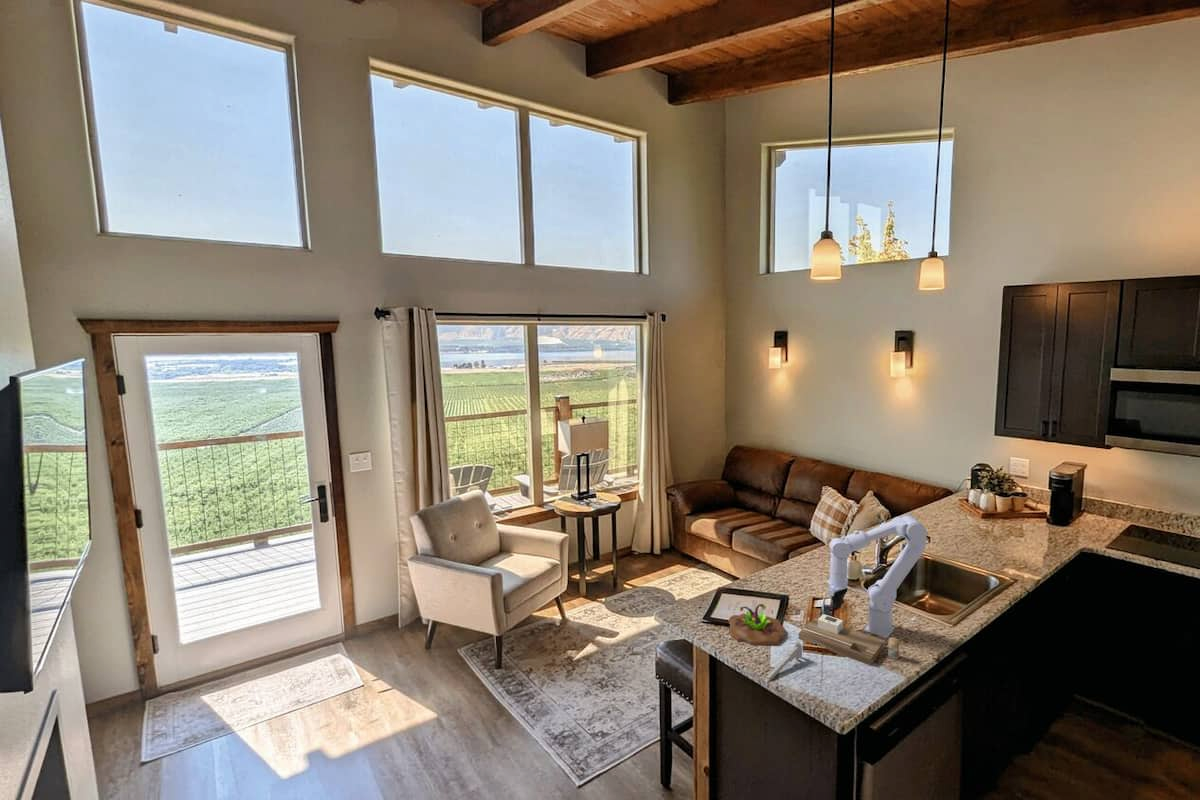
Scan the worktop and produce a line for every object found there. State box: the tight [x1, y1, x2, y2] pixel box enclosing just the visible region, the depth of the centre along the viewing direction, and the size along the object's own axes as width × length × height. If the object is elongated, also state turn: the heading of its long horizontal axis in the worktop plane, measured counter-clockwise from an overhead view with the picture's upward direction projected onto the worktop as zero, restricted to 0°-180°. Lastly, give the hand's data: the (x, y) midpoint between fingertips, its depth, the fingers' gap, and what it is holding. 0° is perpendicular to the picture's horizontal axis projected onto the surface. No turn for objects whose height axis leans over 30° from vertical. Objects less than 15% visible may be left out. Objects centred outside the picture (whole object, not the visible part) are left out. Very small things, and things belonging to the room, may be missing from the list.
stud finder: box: [817, 613, 844, 634], centre depth 202 cm, size 5×7×3 cm
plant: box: [728, 603, 786, 646], centre depth 205 cm, size 20×20×11 cm
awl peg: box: [887, 637, 900, 661], centre depth 188 cm, size 3×3×6 cm
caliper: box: [763, 640, 803, 683], centre depth 181 cm, size 20×1×6 cm, turn 131°
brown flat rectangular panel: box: [798, 617, 885, 666], centre depth 197 cm, size 14×24×2 cm, turn 47°
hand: (837, 607), depth 206 cm, fingers closed
